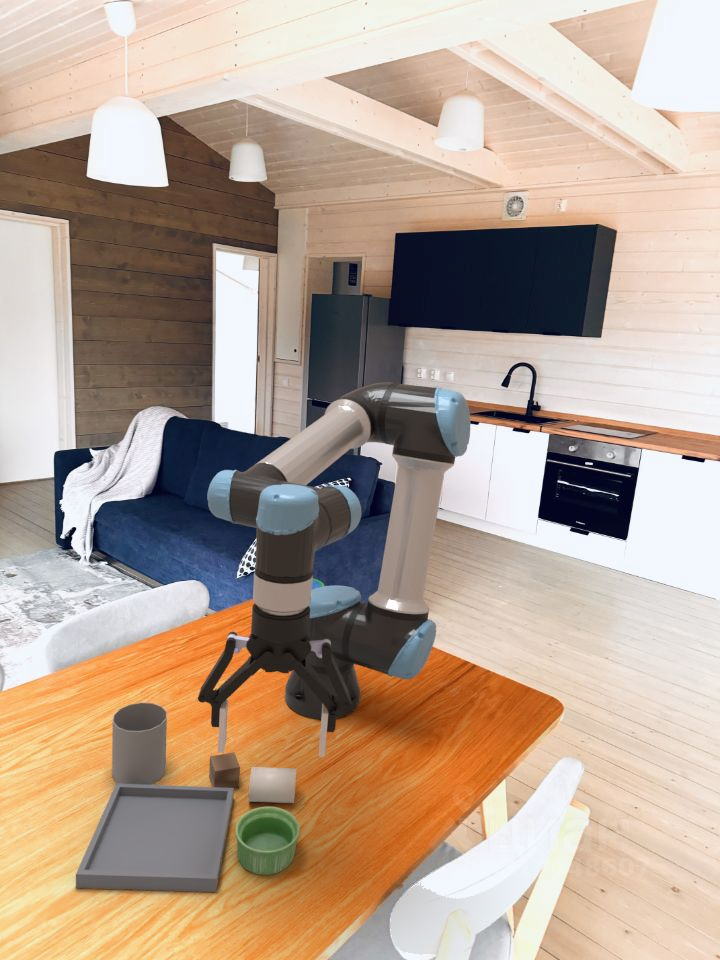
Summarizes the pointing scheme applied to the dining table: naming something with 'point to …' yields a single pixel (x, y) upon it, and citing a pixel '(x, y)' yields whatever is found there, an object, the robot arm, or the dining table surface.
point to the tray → (158, 839)
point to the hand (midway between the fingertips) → (272, 748)
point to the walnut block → (224, 771)
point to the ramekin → (266, 840)
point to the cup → (139, 744)
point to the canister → (272, 785)
